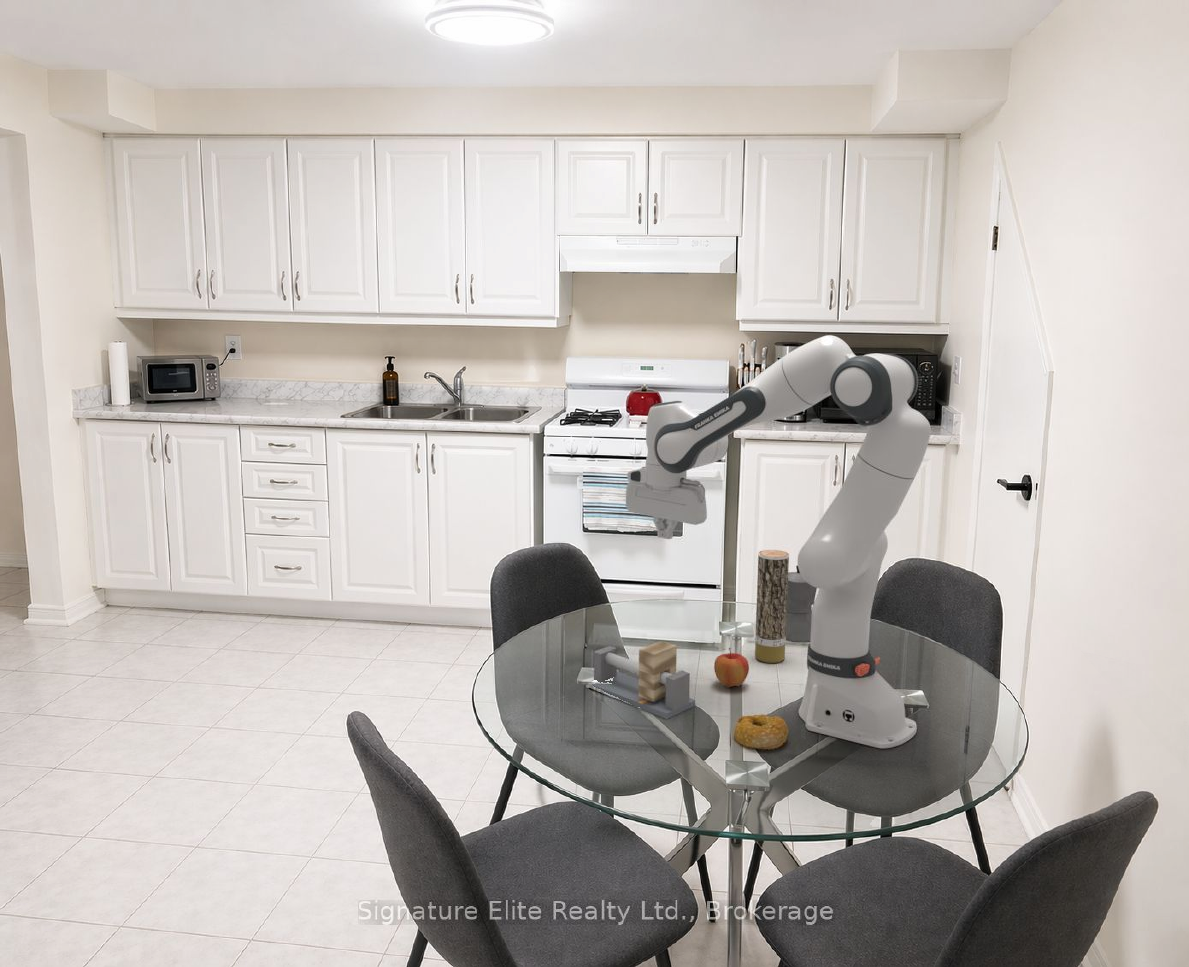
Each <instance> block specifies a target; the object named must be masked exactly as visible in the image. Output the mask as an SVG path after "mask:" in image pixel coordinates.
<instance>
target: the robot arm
mask: <svg viewBox="0 0 1189 967" xmlns="http://www.w3.org/2000/svg"><path fill="white" fill-rule="evenodd" d="M918 375H919V374H918V371H917V370H916V367H915V366H914V365H913V364H912V363H911V362H910V361H909V360H908V359H906V358H905V357H902V356H901V355H897V354H894V353H893V354H892V353H877V352H876V353H867V354H864V355H863V354H862V355H856V354H855V353H854V352H853V351H852V349H851V348H850V346H849V345H848V344H847V343H846V342H845V341H844V340H843V339H841V338H840V337H838V336H835V335H831V334H830V335H824V336H820V337H818V338H815V339H813V340H811V341H809V342H806V343H805V344H803V345H800V346H799V347H797V348H795V349H793V350H792V351H790V352H788V353H787V354H785V355H784V356H782V357H781V358H779V359H777V360H776V361H775V362H774V363H772V364H771V365H770V366H769V367H767V368H765V369H764V370H763V371H762V372H760V373H759V374H758V375H757V376H756V377H754V378H753V379H751V380H750V381H749V382H748V383H746V384H745V385H744V386H742V387H741V388H740V389H738V390H736V392H734V393H733V394H731V395H730V396H728V397H726V398H725V399H723V400H722V401H720V402H719V403H716V404H714V405H713V406H712V407H710V408H708V409H706V410H705V411H703V412H702V413H697V412H695V411H694V410H692V409H691V408H690V407H689V406H688V404H686V402H684V401H682V400H673V401H668V402H660V403H655V404H653V405H652V406H651V407H650V408H649V411H648V414H647V418H646V419H647V420H646V430H645V431H646V435H645V443H646V448H647V455H646V459H645V466H642V467H641V468H636V469H634V470H633V469H632V470H629V471H628V472H627V475H626V476H627V478H626V479H627V480H628V481H629V482H628V483H627V485H626V489H625V490H626V491H625V507H626V510H627V512H629V513H634V514H639V515H642V516H649V517H653V523H654V526H655V528H656V530H657V538H661V539H665V540H671V539H673V537H674V534H673V533H674V530H675V529H676V526H677V525H678V522H679V523H684V524H689V525H695V526H697V525H701V524H704V523H705V521H706V520H707V518H708V512H707V508H708V507H707V500H706V488H705V486H704V485H703V484H702V483H701V482H700V481H699V480H696V479H695V480H694V479H693V480H692V479H690V478H689V479H688V478H687V471H689V470H691V469H696V468H700V467H703V466H707V465H710V464H713V463H714V464H715V463H716V462H718V461H720V460H721V459H723V458H724V457H725V455H726V454H727V452H728V449H729V444H730V440H729V435H731V434H732V433H734V432H736V431H737V430H740V429H743V428H745V427H748V426H751V425H752V426H753V425H755V424H760V423H765V422H770V421H771V422H772V421H777V420H780V419H781V420H782V419H784V418H787V417H791V416H794V415H797V414H799V413H801V412H804V411H806V410H808V409H811V407H813V406H815V405H816V404H818V403H819V402H821V401H823V400H824V399H826V398H828V397H829V396H831V398H832V399H833V401H834V403H835V404H836V405H837V406H838V407H839V408H840V409H841V410H842V411H844V413H845V414H847V415H849V416H850V417H851V418H852V419H853V420H854V421H855V422H856V423H857V424H858V425H860V426H863V427H866V428H867V430H866V433H865V434H866V435H865V438H864V439H863V442H862V443H861V446H860V448H859V450H858V452H857V454H856V455H855V458H854V460H853V463H852V464H851V466H850V469H849V471H848V473H847V475H846V477H845V479H844V482H843V483H842V486H841V488H840V489H839V491H838V493H837V494H836V496H835V498H834V499H832V502H831V503H830V505H829V506H828V508H826V511H825V512H824V514H823V515H822V517H821V518H820V520H819V522H818V523H817V525H816V527H815V528H814V530H813V532H812V533H811V535H810V536H809V537H808V539H806V540H807V541H806V542H805V543H804V544H803V546H801V548H800V550H799V552H798V555H797V565H798V568H799V571H800V574H801V575H802V577H803V578H804V580H805V581H806V582H807V583H809V584H810V585H811V586H813V587H815V588H817V589H818V592H817V594H816V596H815V600H814V604H813V605H812V617H811V638H810V641H809V642H810V643H809V644H808V646H807V656H806V668H807V677H806V684H805V688H804V693H803V697H802V700H801V702H800V703H801V704H800V706H799V708H798V714H799V717H800V718H801V719H802V721H804V724H805V728H806V730H807V731H810V732H814V733H818V734H821V735H822V734H823V735H826V736H829V737H834V738H838V739H842V740H845V741H849V742H853V743H857V744H862V745H865V746H869V747H873V748H878V749H890V748H891V749H892V748H895V747H897V746H901V745H903V744H905V743H906V742H907V741H910V740H911V739H912V738H913V737H914V736H915V735H916V734H917V730H918V729H917V722H916V721H915V720H913V719H911V718H908V717H906V709H905V703H904V700H903V697H902V696H901V695H900V693H898V692H897V691H896V690H895V688H893V687H892V686H891V685H890V684H889V683H888V682H887V681H886V679H884V677H882V676H881V675H880V674H879V673H878V671H877V669H876V666H877V665H878V664H879V663H881V661H880V660H881V656H878V657H877V658H874V657H873V656H872V653H871V651H870V649H869V646H870V645H869V643H870V628H871V615H872V609H873V603H874V598H875V595H876V591H877V587H878V583H879V579H880V573H881V568H882V564H883V560H884V558H885V555H886V553H887V550H888V547H889V546H888V544H889V542H888V537H887V535H886V532H885V530H886V529H887V527H888V526H889V524H890V523H891V522H892V520H893V519H895V517H896V515H897V514H898V512H899V510H900V509H901V506H902V504H903V502H904V500H905V498H906V496H907V494H908V492H909V490H910V488H911V486H912V484H913V482H914V480H915V478H916V476H917V474H918V471H919V469H920V467H921V465H922V462H923V460H924V457H925V454H926V452H927V448H928V445H929V442H930V438H931V433H932V428H931V425H930V421H929V420H928V419H927V418H926V416H924V415H923V414H922V413H921V412H919V411H918V410H916V409H914V408H912V406H910V405H909V403H910V402H911V401H912V400H913V398H914V397H915V396H916V393H917V391H918V387H919V376H918ZM664 521H666V522H665V523H666V525H667V527H666V528H665V525H664Z"/></svg>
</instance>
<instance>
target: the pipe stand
mask: <svg viewBox="0 0 1189 967" xmlns="http://www.w3.org/2000/svg"><path fill="white" fill-rule="evenodd" d="M618 669H621V670H624V671H626V672H629V673H633V674H634V675H638V676H639V661H635V660H632V659H630V658H627V657H623V656H621V655H618V648H617V647H614V646H611V645H608V646H606V647H603V648H601V649H597V650H595V651H593V680H597V681H598V682H600V683H601V682H603V683H607V682H609V683H612V684H592V685H593V686H594V687H596V688H598V689H601V690H603V691H604V692H606V693H608V694H610V695H613V696H615V697H618V698H619V699H621V700H623V701H626V702H628V703H630V704H632V705H633V706H632V705H631V706H632V707H634V706H635V707H634V708H637V707H640V708H641V709H640V710H642V709H643V710H642V711H644V710H645V711H644V712H646V713H650V714H652V715H655V716H657V717H660V718H663V719H666V720H668V719H670V718H673V717H674V716H677V715H679V714H681V713H684V712H685V711H687V710H689V709H691V708H693V707H696V700H695V699H693V698H691V697H690V687H691V684H690V683H691V682H690V681H691V680H690V678H691V676H690V675H691V673H690V672H689V671H688V672H687V671H685V670H679V671H676V673H675V674H670V673H667V672H664V671H663V672H661V673H660V683H662V684H665V685H666V696H665V697H663V698H661V699H659V700H657V701H654V702H653V701H650V700H647V699H645V698H642V697H639V678H635V677H633V676H631V675H628V674H625V673H622V672H619V671H618ZM613 677H614V678H613ZM610 678H613V681H611V680H610V681H605V680H608V679H610Z"/></svg>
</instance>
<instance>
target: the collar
mask: <svg viewBox="0 0 1189 967" xmlns="http://www.w3.org/2000/svg"><path fill="white" fill-rule="evenodd" d="M677 648H678V647H677V645H676V644H672V643H670V642H666V641H664V640H661V641H658V642H655V643H653V644H650V645H647V646H645V647H642V648H640V649H638V663H639V675H638V679H639V697H642V698H645V699H647V700H650V701H653V702H654V701H657V700H659V699H661V698H663V697H665V696H666V685H665V684H662V683H660V673H661V672H663V671H664V672H667V673H670V674H675V673H677Z"/></svg>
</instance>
